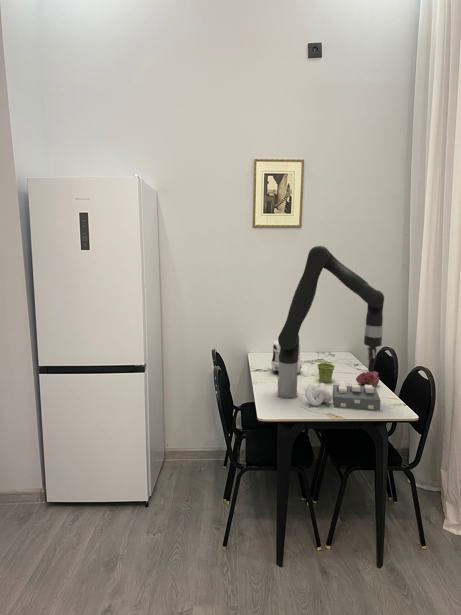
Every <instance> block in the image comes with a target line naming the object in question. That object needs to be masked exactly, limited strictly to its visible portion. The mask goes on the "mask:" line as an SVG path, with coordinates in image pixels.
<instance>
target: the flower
mask: <svg viewBox="0 0 461 615" xmlns="http://www.w3.org/2000/svg"><path fill="white" fill-rule="evenodd" d="M355 381H356V383H358V384H360V385H362V384H364V385H372V386H373V387H377V386H378V385H379V382H380V376H379V372H377V371H376V370H374V372H369V371H366V372H362V373H360V374H359V375H357V377H356V379H355Z"/></svg>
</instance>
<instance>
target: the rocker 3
mask: <svg viewBox="0 0 461 615" xmlns="http://www.w3.org/2000/svg"><path fill="white" fill-rule="evenodd" d="M363 387H365V391H366V393H374V388H373V387H374V386H373V385H372V384H371V385H369V384H368V385H366V384H364V386H363Z"/></svg>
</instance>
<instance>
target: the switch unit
mask: <svg viewBox="0 0 461 615" xmlns="http://www.w3.org/2000/svg"><path fill="white" fill-rule="evenodd" d="M359 386H360V385H359ZM346 387H347V393H339V384H332V401H333V407H334V408H339V409H342V408H343V409H353V410H354V409H355V410H364V411H366V410H367V411H378V410H380V411H381V402H382V400H381V398H380V395H379V393H378V390H377V389H376V386H373V388H374V393H366V391H365V387H364V386H360V392H357V391H352V387H351V385H346Z"/></svg>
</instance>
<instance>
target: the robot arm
mask: <svg viewBox="0 0 461 615" xmlns="http://www.w3.org/2000/svg"><path fill="white" fill-rule="evenodd" d="M323 269H325V270H326V271H328V272H330V273H331V275H334V276H335V277H336V278H337V280H339V281H340V282H341V283H342V285H344V286H345V287H347V288H348V289H349V290H350V291H352V292H353V293H354V294H356V295H357V296H359V298H361V299H362V300H363V301H364V303H366V304H367V308H366V309H367V312H366V316H365V326H364V337H363V339H364V340H363V344H364V345H365V346H367V350H366V352H367V354H366V356H367V363H368V368H367V370H368V371H367V372H374V371H375V370H374V369H375V365H376V362H377V359H378V349H377V348H379V347H381V346H382V340H383V323H384V322H383V321H384V320H383V319H384V317H383V316H384V315H383V314H384V313H383V310H384V302H385V295H384V294H383V293H384V292H382V291H380V290H378V289H376V288H374V287H373V286H371V285H370V284H369V283H368V281H366V280H365V279H364V278H363V277H361V276H360V275H358V274H357V273H356V272H354V271H353V270H351V269H350V268H348V267H347V266H346V265H344V264H343V263H342V262H341V261H339V260H338V259H337V257H335V256H334V255H333V253H331V252H330V251H329V249H328V247H326V246H324V245H316V246H313V247H312V248H311V249H309V251H308V255H307V258H306V263H305V266H304V270H303V272H302V275H301V278H300V280H299V281H298V284H297V286H296V289H295V291H294V295H293V297H292V300H291V303H290V305H289V309H288V313H287V317H286V320H285V322H284V325H283V327H282V329H281V331H280V333H279V335H278V337H277V340H278V343H279V345H280V354H279V373H278V376H277V397H282V398H286V399H290V398H292V399H293V398H295V397H297V395H298V373H297V370H298V354H299V342H300V336H299V333H300V330H301V326H302V325H303V323H304V321H305V319H306V317H307V316H308V313H309V311H310V309H311V308H312V304H313V302H314V299H315V297H316V292H317V287H318V281H319V278H320V275H321V273H322V271H323Z"/></svg>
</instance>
